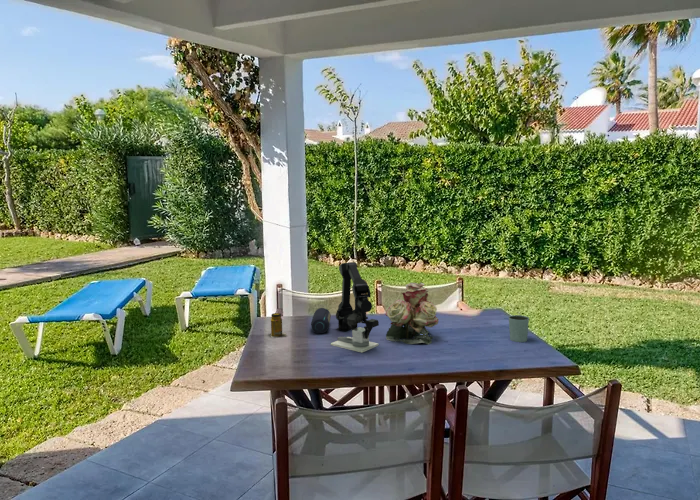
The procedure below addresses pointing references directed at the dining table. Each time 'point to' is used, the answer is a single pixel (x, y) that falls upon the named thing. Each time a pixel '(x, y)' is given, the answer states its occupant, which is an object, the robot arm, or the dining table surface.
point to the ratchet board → (349, 346)
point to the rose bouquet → (412, 316)
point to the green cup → (518, 328)
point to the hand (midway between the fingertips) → (360, 337)
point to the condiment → (276, 326)
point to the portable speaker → (320, 320)
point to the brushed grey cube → (359, 335)
